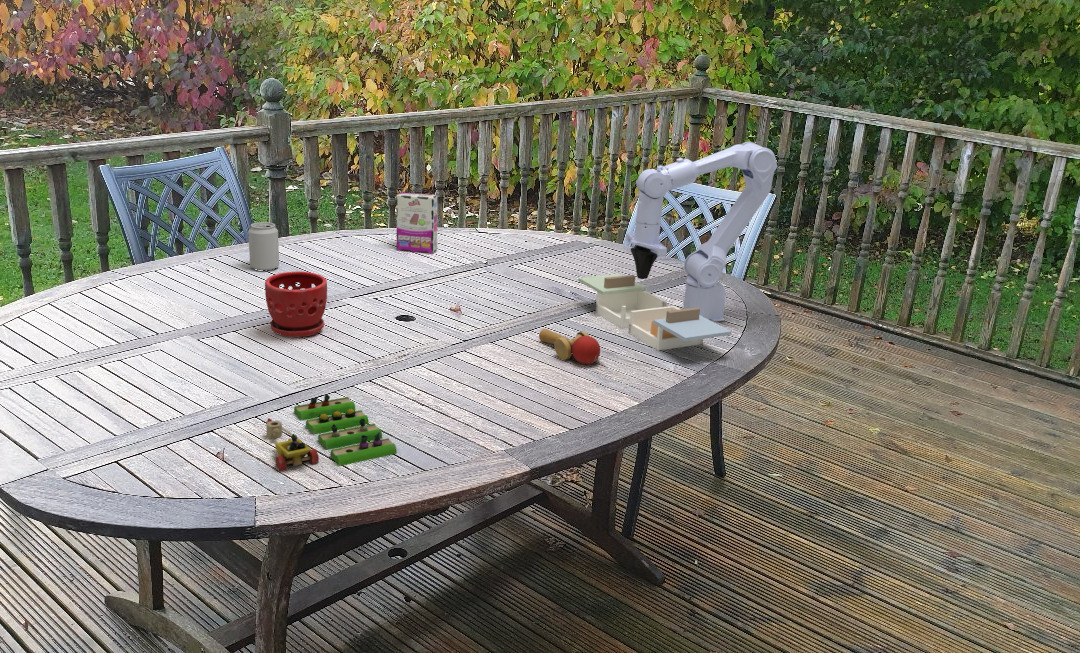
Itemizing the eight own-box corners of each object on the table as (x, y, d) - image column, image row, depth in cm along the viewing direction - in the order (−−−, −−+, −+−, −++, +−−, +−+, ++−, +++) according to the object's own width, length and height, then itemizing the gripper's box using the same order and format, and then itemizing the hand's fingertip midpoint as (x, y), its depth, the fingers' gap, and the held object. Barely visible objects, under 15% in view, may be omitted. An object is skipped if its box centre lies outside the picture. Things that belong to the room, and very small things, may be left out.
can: (275, 272, 255) (273, 228, 251) (246, 271, 255) (244, 226, 251) (282, 265, 262) (281, 221, 258) (254, 263, 262) (252, 220, 258)
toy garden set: (397, 456, 162) (397, 431, 160) (284, 480, 152) (283, 454, 151) (347, 405, 180) (347, 382, 179) (243, 424, 170) (242, 400, 169)
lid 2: (697, 317, 218) (699, 304, 217) (731, 334, 208) (732, 320, 207) (653, 323, 213) (654, 309, 212) (685, 341, 203) (686, 326, 202)
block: (666, 336, 221) (667, 318, 219) (677, 343, 217) (679, 324, 216) (649, 338, 219) (651, 320, 217) (660, 345, 215) (662, 326, 214)
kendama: (527, 350, 214) (578, 366, 200) (530, 322, 213) (581, 336, 199) (555, 351, 219) (606, 366, 205) (558, 323, 218) (610, 336, 204)
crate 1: (637, 310, 240) (639, 287, 238) (664, 326, 230) (666, 301, 228) (595, 315, 235) (597, 292, 233) (621, 331, 225) (623, 307, 223)
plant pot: (255, 330, 214) (252, 277, 210) (305, 317, 223) (304, 267, 219) (288, 346, 205) (287, 292, 201) (340, 332, 215) (339, 280, 211)
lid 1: (619, 276, 246) (620, 264, 245) (645, 290, 236) (646, 277, 235) (578, 280, 241) (578, 268, 240) (602, 294, 231) (603, 281, 230)
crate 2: (671, 330, 228) (674, 305, 226) (702, 347, 218) (705, 321, 216) (628, 335, 222) (630, 310, 221) (657, 353, 213) (660, 327, 211)
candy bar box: (437, 249, 285) (438, 194, 280) (433, 254, 280) (433, 198, 275) (400, 246, 287) (401, 191, 281) (395, 250, 282) (395, 194, 276)
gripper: (617, 215, 230) (612, 270, 235) (651, 230, 218) (644, 288, 223) (642, 214, 233) (636, 268, 238) (677, 228, 221) (670, 285, 226)
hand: (642, 278), depth 230 cm, fingers closed
